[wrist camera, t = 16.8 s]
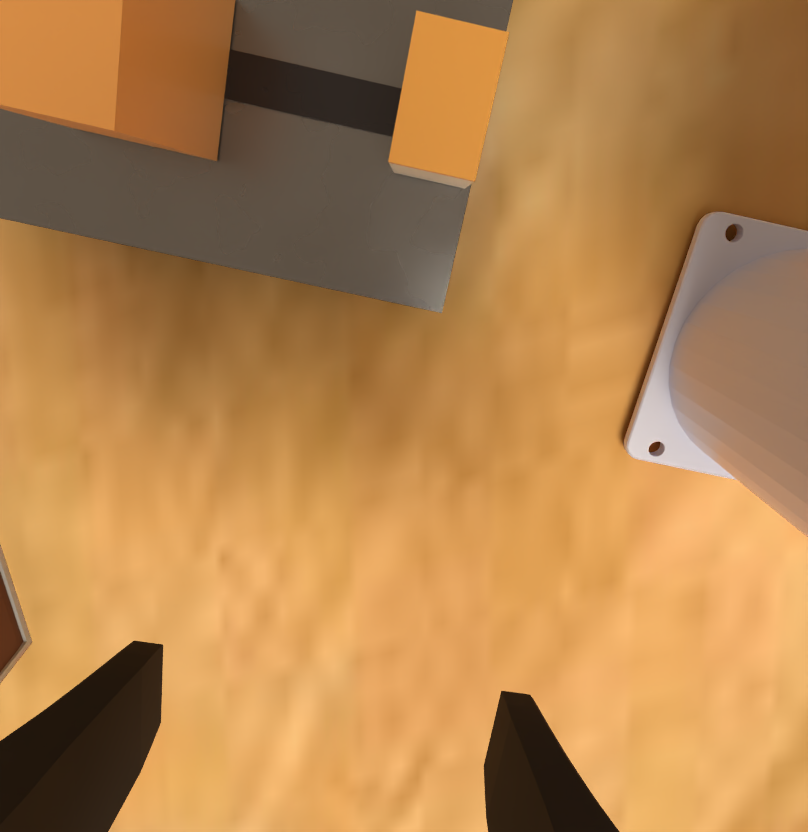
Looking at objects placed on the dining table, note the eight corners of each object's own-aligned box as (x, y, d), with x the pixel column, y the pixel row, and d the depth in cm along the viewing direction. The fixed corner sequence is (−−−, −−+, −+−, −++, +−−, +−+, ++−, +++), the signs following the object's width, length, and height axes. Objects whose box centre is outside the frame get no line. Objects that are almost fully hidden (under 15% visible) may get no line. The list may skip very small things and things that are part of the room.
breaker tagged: (491, 69, 16) (509, 32, 13) (465, 188, 17) (474, 180, 14) (417, 52, 16) (416, 10, 13) (393, 172, 17) (387, 161, 14)
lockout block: (235, -3, 16) (131, -129, 10) (216, 161, 17) (114, 131, 11) (80, -40, 16) (-115, -190, 10) (72, 127, 17) (-106, 80, 11)
